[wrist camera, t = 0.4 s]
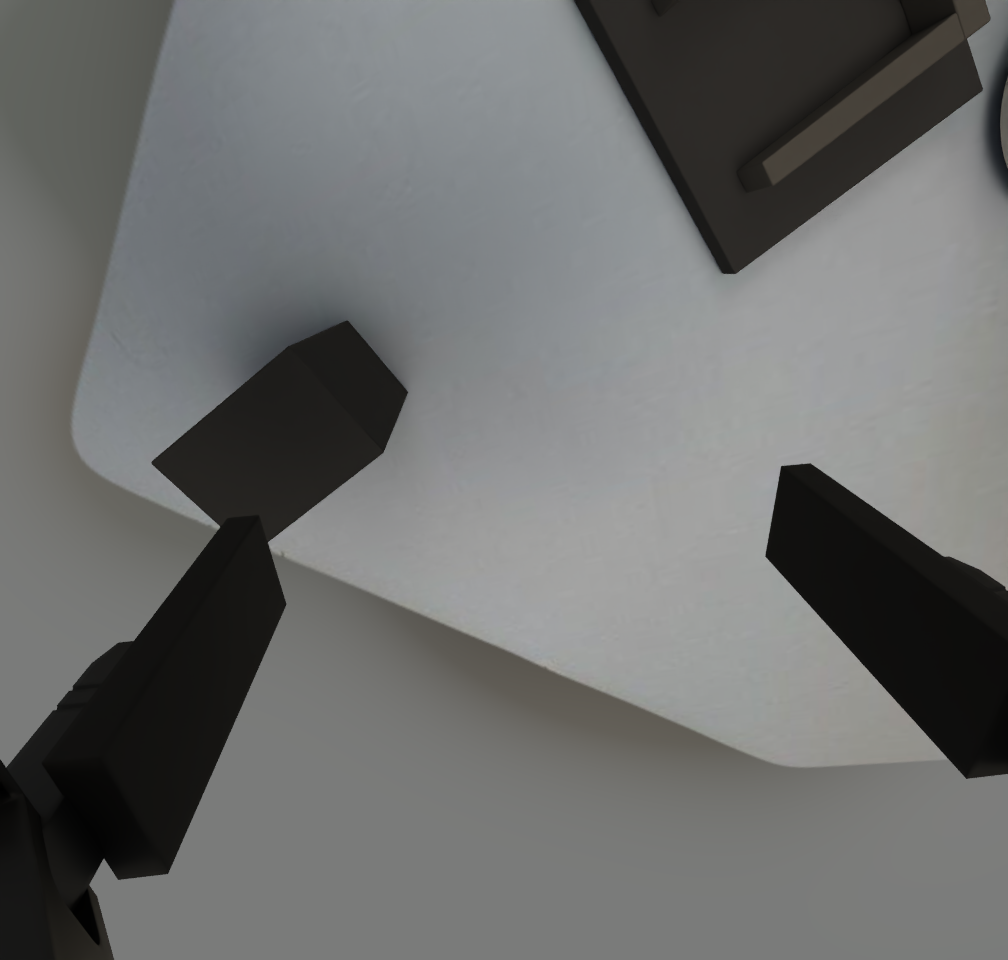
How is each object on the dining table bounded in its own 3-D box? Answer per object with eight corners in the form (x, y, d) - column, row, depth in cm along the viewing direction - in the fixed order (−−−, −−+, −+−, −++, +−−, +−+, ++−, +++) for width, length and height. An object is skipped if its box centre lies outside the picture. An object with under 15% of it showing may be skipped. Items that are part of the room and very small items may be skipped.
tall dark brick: (253, 398, 30) (149, 463, 20) (347, 319, 29) (288, 345, 19) (316, 464, 32) (251, 555, 22) (408, 392, 31) (384, 452, 21)
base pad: (558, -27, 25) (576, -80, 21) (833, -273, 23) (908, -381, 19) (722, 274, 30) (760, 274, 26) (957, 98, 28) (1035, 72, 24)
